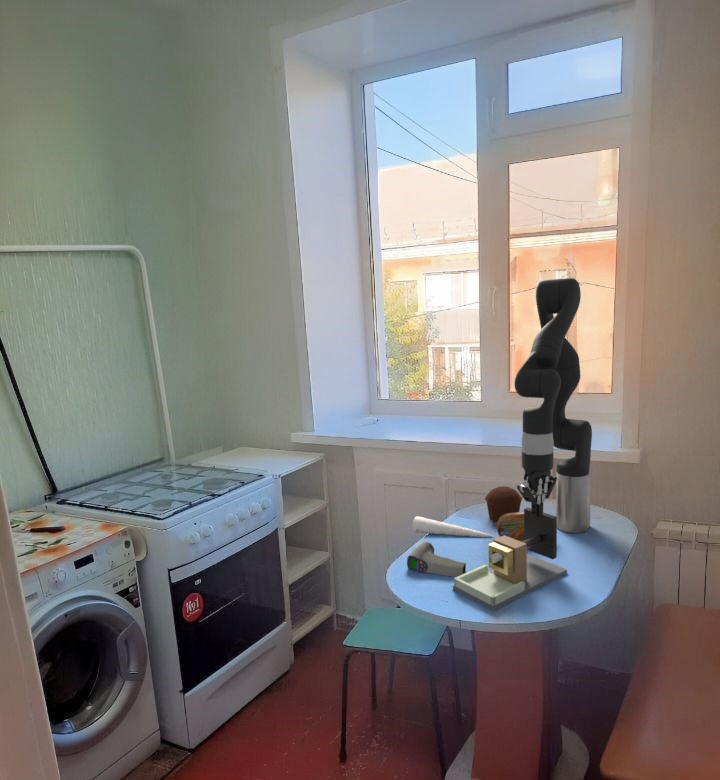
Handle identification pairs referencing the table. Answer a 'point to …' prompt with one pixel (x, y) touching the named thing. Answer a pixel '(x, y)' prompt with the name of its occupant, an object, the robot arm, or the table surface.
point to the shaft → (537, 535)
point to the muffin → (502, 502)
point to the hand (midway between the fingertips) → (537, 516)
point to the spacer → (508, 558)
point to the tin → (511, 526)
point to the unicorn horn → (443, 528)
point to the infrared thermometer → (433, 562)
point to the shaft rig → (507, 577)
